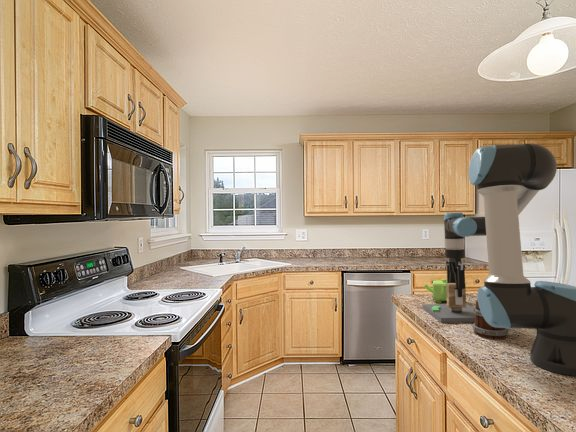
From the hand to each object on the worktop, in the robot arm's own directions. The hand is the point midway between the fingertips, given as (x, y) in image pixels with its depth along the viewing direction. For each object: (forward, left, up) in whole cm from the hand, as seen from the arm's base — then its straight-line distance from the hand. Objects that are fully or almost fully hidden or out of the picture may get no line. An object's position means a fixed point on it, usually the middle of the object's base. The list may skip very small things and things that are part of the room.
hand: (456, 302), depth 149 cm
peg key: (+4, 0, -4) cm, 5 cm away
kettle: (+25, -5, -6) cm, 26 cm away
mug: (-22, -4, -6) cm, 23 cm away
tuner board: (+2, 0, -6) cm, 6 cm away
